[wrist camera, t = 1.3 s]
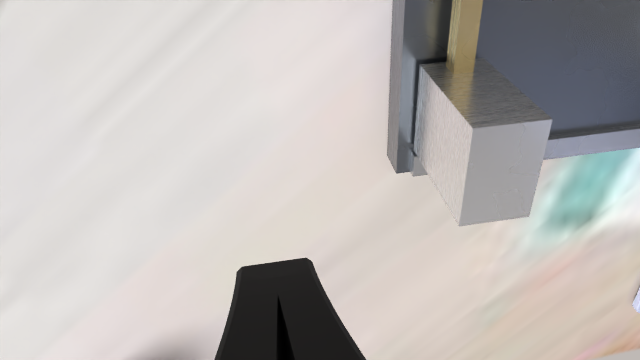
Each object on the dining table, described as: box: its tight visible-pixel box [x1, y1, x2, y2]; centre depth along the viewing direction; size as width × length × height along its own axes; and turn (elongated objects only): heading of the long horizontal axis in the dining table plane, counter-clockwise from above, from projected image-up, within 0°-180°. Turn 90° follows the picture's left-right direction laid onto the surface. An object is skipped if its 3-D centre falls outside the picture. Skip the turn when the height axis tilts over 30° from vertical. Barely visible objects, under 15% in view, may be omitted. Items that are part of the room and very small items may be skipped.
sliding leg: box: [414, 0, 553, 226], centre depth 14 cm, size 2×5×4 cm, turn 2°
